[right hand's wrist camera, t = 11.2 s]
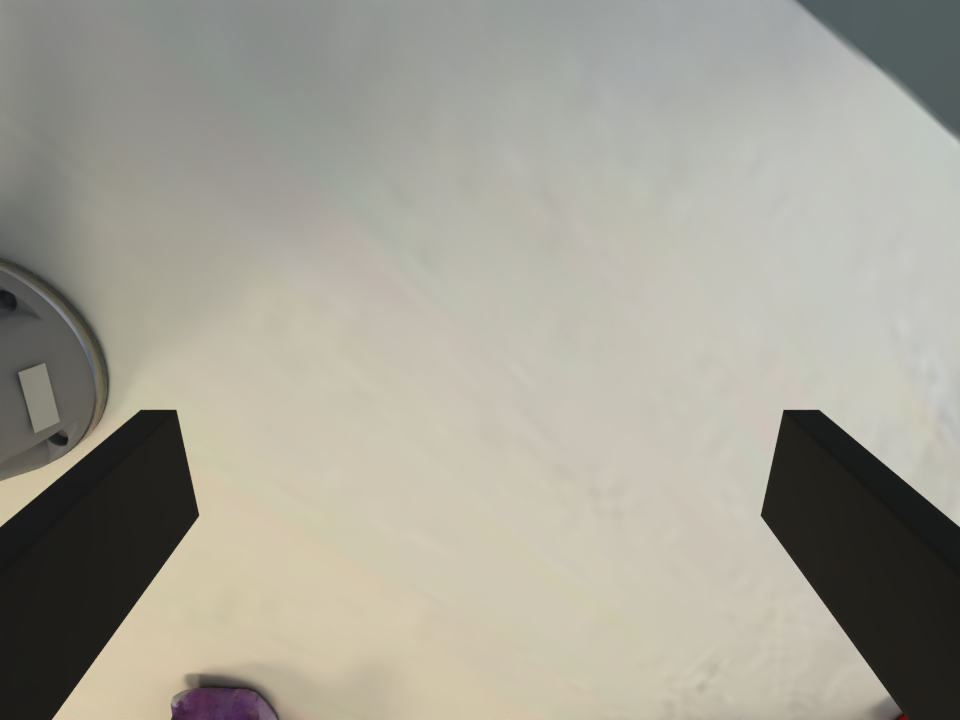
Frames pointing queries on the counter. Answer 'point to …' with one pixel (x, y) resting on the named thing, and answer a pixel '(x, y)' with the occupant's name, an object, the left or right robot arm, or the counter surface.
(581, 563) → the counter surface
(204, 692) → the figurine
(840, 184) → the counter surface
